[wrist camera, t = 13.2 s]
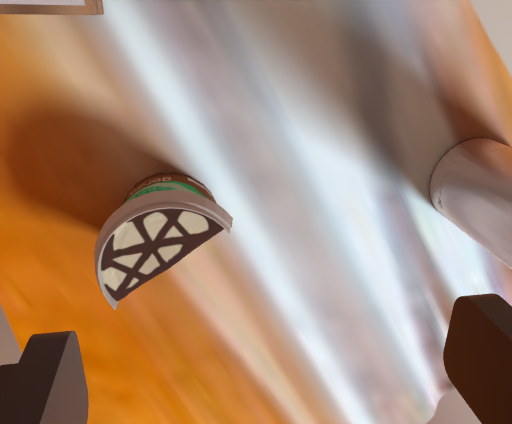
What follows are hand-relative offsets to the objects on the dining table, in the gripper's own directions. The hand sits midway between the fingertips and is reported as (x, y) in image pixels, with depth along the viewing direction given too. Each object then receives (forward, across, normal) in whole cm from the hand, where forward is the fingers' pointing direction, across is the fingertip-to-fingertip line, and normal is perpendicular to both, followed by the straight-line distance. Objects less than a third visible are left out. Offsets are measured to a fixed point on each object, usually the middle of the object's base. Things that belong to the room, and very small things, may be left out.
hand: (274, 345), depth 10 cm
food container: (+34, +5, +10) cm, 36 cm away
